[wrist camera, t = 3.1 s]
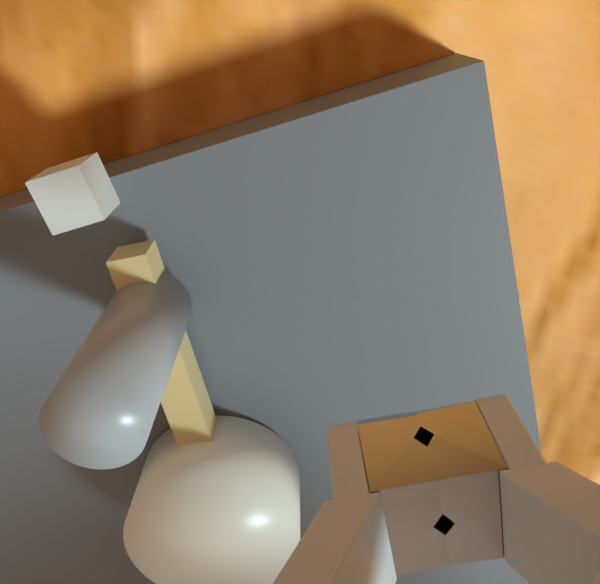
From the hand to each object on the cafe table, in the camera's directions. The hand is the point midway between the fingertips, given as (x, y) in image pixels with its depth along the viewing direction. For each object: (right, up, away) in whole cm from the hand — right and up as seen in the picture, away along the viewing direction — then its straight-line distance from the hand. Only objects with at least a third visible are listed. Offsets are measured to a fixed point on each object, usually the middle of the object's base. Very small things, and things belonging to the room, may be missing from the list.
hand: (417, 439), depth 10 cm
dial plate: (-5, -3, +15) cm, 16 cm away
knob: (-6, -2, +11) cm, 12 cm away
